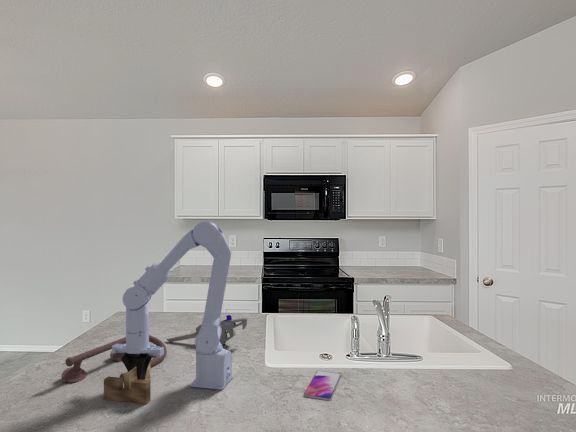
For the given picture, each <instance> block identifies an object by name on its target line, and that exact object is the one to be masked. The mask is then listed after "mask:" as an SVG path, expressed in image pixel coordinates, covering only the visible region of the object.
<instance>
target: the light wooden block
mask: <svg viewBox="0 0 576 432" xmlns="http://www.w3.org/2000/svg"><path fill="white" fill-rule="evenodd" d="M126 372H127V373H126ZM126 372H125V373H126V374H124V382H123V388H130V389H131V381H133V380H134V379H137V368H136V367H135V368H133V369H132V370H130V371H129V372H128V371H126ZM145 380H150V381H151V367H150V363H149V366H148V368H147V372H146V376H145Z"/></svg>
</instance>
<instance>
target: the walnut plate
mask: <svg viewBox="0 0 576 432" xmlns="http://www.w3.org/2000/svg"><path fill="white" fill-rule="evenodd" d="M151 398H152V397H151V379H150V380H140V379H134V380H133V381H131V389H130V388H124V382H123V378H119V376H107V377H106V378H103V400H106V401H113V402H125V403H133V404H140V405H141V404H144V405H147V404H149V403H150V402H151Z"/></svg>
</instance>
